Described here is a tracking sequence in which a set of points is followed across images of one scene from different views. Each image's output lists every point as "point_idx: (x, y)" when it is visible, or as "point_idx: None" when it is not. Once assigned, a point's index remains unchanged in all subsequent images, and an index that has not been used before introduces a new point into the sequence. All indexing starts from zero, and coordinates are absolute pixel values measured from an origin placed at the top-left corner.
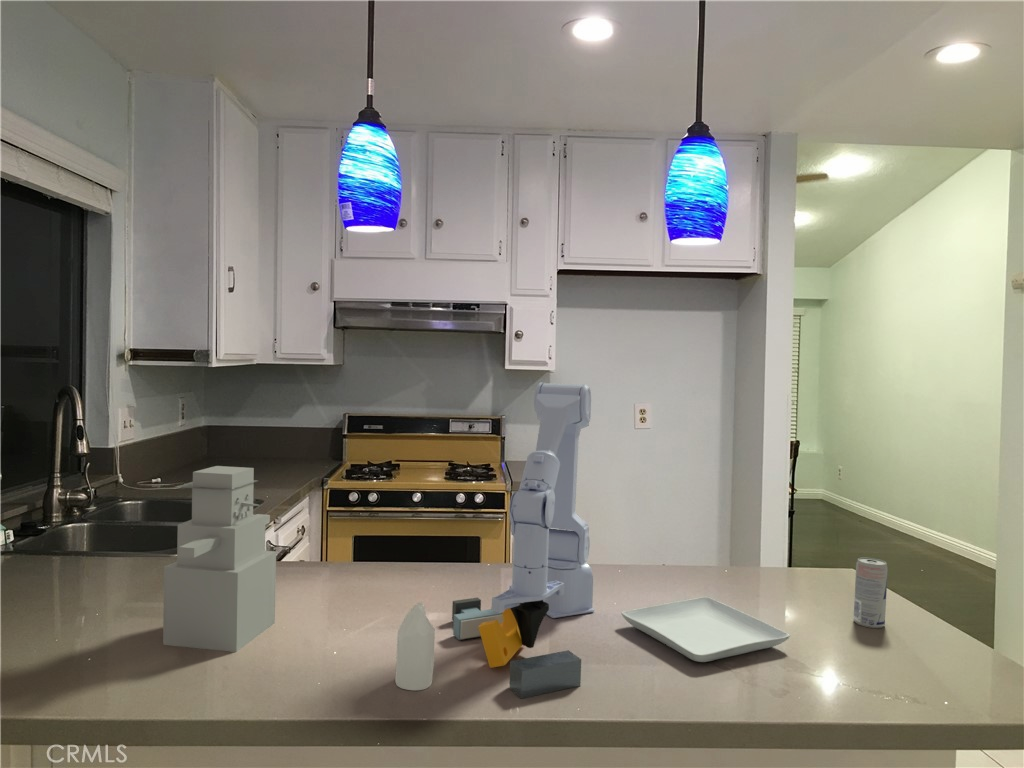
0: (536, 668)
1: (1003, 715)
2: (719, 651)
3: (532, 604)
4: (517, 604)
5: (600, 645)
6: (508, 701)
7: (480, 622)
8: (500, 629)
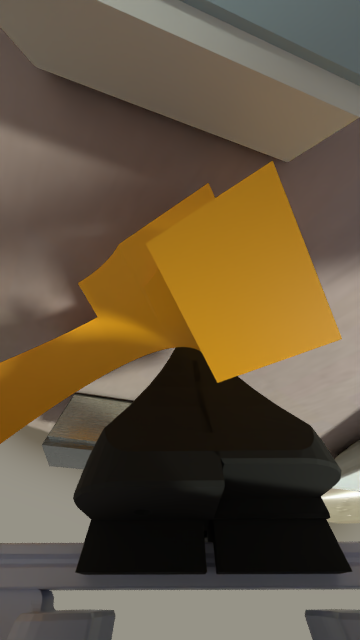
0: (80, 467)
1: (344, 522)
2: (353, 490)
3: (206, 529)
4: (73, 564)
5: (335, 374)
6: (57, 411)
7: (117, 41)
8: (23, 425)
